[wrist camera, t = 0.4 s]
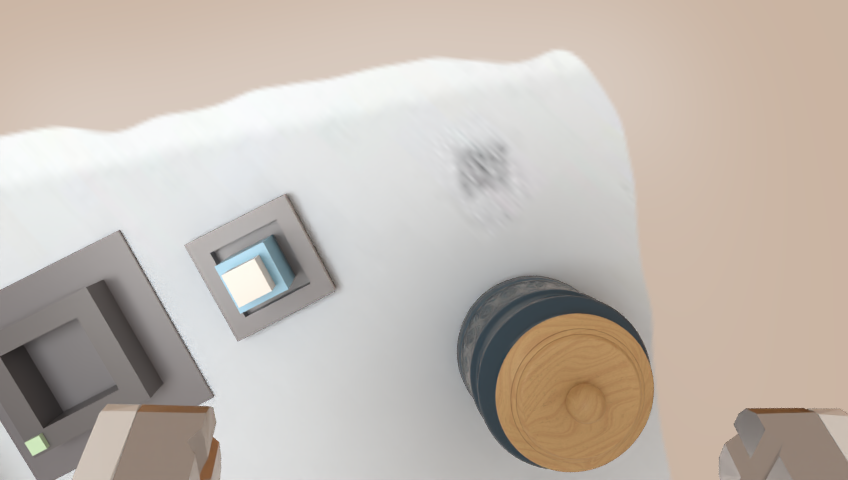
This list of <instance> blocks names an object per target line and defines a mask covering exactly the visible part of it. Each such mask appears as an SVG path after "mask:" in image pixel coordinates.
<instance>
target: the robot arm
mask: <svg viewBox="0 0 848 480" xmlns="http://www.w3.org/2000/svg"><path fill="white" fill-rule="evenodd" d="M215 425H216V419H215V414H214V409H213V407H210V406H179V405H146V404H142V405H134V404H107V405H106V406H105V407H104V408H103V410H102V411H101V412H100V413H99V415H98V418H97V420H96V423H95V425H94V427H93V430H92V432H91V435H90V437H89V439H88V442H87V444H86V447H85V449H84V452H83V454H82V456H81V459H80V461H79V464H78V466H77V468H76V471H75V473H74V476H73V478H72V480H220V474H221V451H220V444H219V442H218V441H217V440H216V439H215V438H214V437H213V434H214V430H215ZM734 426H735V428H736V430H737V432H738V435H736V436H735V437H733V438H732V439H730V440H729V441H727V442H726V443H725V444H724V447H723V449H722V452H721V454H720V457H719V477H720V480H848V414H847V413H846V412H845V411H843V410H841V409H805V408H751V409H750V408H746V409H745V410H743V411H742V412H741V413H739V415H738V417H737V419H736V421H735V423H734Z"/></svg>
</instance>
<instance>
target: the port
mask: <svg viewBox="0 0 848 480" xmlns="http://www.w3.org/2000/svg"><path fill="white" fill-rule="evenodd" d="M211 398H213V394H212V392H211V390H210V388H209V387H208V385H207V383H206V381H205V380H204V378H203V376H202V374H201V373H200V371H199V369H198V367H197V366H196V364H195V362H194V360H193V359H192V357H191V355H190V353H189V351H188V350H187V348H186V346H185V344H184V343H183V341H182V339H181V337H180V336H179V334H178V332H177V330H176V329H175V327H174V325H173V323H172V321H171V320H170V318H169V316H168V314H167V313H166V311H165V309H164V307H163V306H162V304H161V302H160V300H159V299H158V297H157V295H156V293H155V292H154V290H153V288H152V286H151V284H150V283H149V281H148V279H147V277H146V276H145V274H144V272H143V270H142V269H141V267H140V265H139V263H138V262H137V260H136V258H135V256H134V254H133V253H132V251H131V249H130V247H129V246H128V244H127V242H126V240H125V239H124V237H123V235H122V233H121V232H120V230H119V231H117V232H115V233H113V234H111V235H109V236H107V237H105V238H103V239H101V240H99V241H97V242H95V243H93V244H91V245H89V246H87V247H85V248H83V249H81V250H79V251H77V252H75V253H73V254H71V255H69V256H67V257H65V258H63V259H61V260H59V261H57V262H55V263H53V264H51V265H49V266H47V267H45V268H43V269H41V270H39V271H37V272H35V273H33V274H31V275H29V276H27V277H25V278H23V279H21V280H19V281H17V282H15V283H13V284H11V285H9V286H7V287H5V288H3V289H1V290H0V421H1V422H2V424H3V426H4V427H5V429H6V431H7V432H8V434H9V435H10V437H11V439H12V440H13V442H14V444H15V445H16V447H17V449H18V450H19V452H20V453H21V455H22V457H23V458H24V460H25V462H26V463H27V465H28V466H29V468H30V470H31V471H32V473H33V475H34V476H35V478H36V479H37V480H55V479H57V478H59V477H61V476H63V475H64V474H66V473H68V472H70V471H72V470H74V469H76V468H77V466H78V464H79V461H80V459H81V456H82V454H83V452H84V449H85V447H86V444H87V442H88V439H89V437H90V435H91V432H92V430H93V427H94V425H95V423H96V420H97V418H98V415H99V413H100V412H101V411H102V410H103V408H104V407H105V406H106V405H107V404H134V405H142V404H146V405H179V406H197V405H199V404H201V403H203V402H205V401H207V400H209V399H211Z"/></svg>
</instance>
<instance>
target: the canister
mask: <svg viewBox="0 0 848 480" xmlns="http://www.w3.org/2000/svg"><path fill="white" fill-rule="evenodd" d="M457 360H458V366H459V371H460V374H461V377H462V379H463V382H464V384H465V386H466V388H467V390H468V391H469V393H470V395H471V396H472V397H473V399H474V401H475V404H476V406H477V408H478V410H479V412H480V414H481V416H482V417H483V419H484V421H485V423H486V425H487V427H488V429H489V430H490V432H491V433H492V435H493V436H494V438H495V439H496V440H497V441H498V443H499V444H500V445H501V446H502V447H503V448H504V449H506V450H507V451H508V452H509V453H510V454H512V455H513V456H515V457H516V458H518V459H520V460H522V461H524V462H526V463H528V464H531V465H533V466H537V467H540V468H545V469H551V470H556V471H562V472H580V471H587V470H591V469H595V468H598V467H600V466H603V465H605V464H607V463H609V462H611V461H613V460H614V459H616V458H617V457H619V456H620V455H621V454H623V453H624V452H625V451H626V450H627V449H628V448H629V447H630V446H631V445H632V444H633V443H634V442H635V440H636V439H637V438H638V437H639V435H640V433H641V432H642V430H643V428H644V427H645V425H646V422H647V420H648V418H649V415H650V412H651V408H652V403H653V395H654V383H653V375H652V371H651V367H650V361H649V357H648V354H647V351H646V348H645V345H644V343H643V341H642V339H641V337H640V336H639V334H638V332H637V331H636V329H635V328H634V327H633V326H632V324H631V323H630V322H629V321H628V320H627V319H626V318H625V317H624V316H623V315H621V314H620V313H619V312H618V311H616V310H615V309H613V308H611V307H610V306H608V305H606V304H604V303H602V302H599V301H597V300H596V299H594V298H592V297H590V296H588V295H585V294H583V293H580V292H578V291H577V290H576V289H574V288H572V287H571V286H569V285H567V284H565V283H563V282H560V281H558V280H555V279H551V278H547V277H540V276H525V277H518V278H514V279H511V280H508V281H505V282H502V283H500V284H498V285H496V286H494V287H493V288H491V289H489V290H488V291H487V292H485V293H484V294H483V295H482V296H481V297H480V298H479V299H478V300H477V301H476V302H475V303H474V304H473V306H472V307H471V308H470V310H469V311H468V313H467V315H466V317H465V319H464V321H463V324H462V327H461V330H460V333H459V338H458V345H457Z"/></svg>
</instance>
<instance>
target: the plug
mask: <svg viewBox="0 0 848 480" xmlns="http://www.w3.org/2000/svg"><path fill="white" fill-rule="evenodd" d="M215 269H216V271H217V272H218V274H219V276H220V278H221V280H222V282H223V283H224V285H225V287H226V289H227V291H228V292H229V294H230V296H231V298H232V300H233V301H234V303H235V305H236V307H237V309H238V310H239V312H240V314H241V313H243V312H245V311H247V310H249V309H251V308H253V307H255V306H257V305H259V304H261V303H263V302H265V301H267V300H268V299H270V298H272V297H274V296H276V295H278V294H280V293H282V292H284V291H286V290H288V289H289V287H290V285H291V284H292V282H293V280H294V278H295V274H294V272H293V271H292V269H291V267H290V265H289V263H288V261H287V259H286V258H285V256H284V254H283V252H282V250H281V248H280V246H279V245H278V243H277V241H276V239H275V237H274V235H271V236H269V237H267V238H265V239H263V240H261V241H259V242H257V243H255V244H253V245H251V246H249V247H247V248H245V249H243V250H241V251H239V252H237V253H235V254H233V255H231V256H229V257H228V258H227V259H225V260H224V261H222V262H221V263H219V264H218V265H216V266H215Z"/></svg>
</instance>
